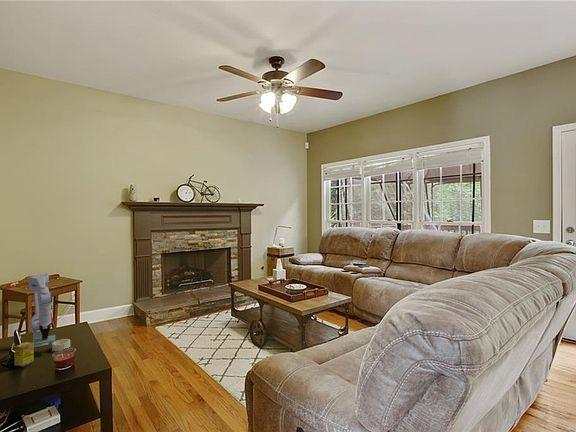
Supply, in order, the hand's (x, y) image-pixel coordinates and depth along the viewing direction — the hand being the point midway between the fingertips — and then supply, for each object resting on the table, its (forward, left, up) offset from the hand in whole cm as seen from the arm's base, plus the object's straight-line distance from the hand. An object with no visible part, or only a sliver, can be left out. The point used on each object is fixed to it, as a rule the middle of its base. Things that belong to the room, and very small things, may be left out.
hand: (45, 337), depth 189 cm
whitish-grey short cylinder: (-1, +8, -9) cm, 12 cm away
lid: (0, 0, -2) cm, 2 cm away
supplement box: (+12, -9, -9) cm, 18 cm away
